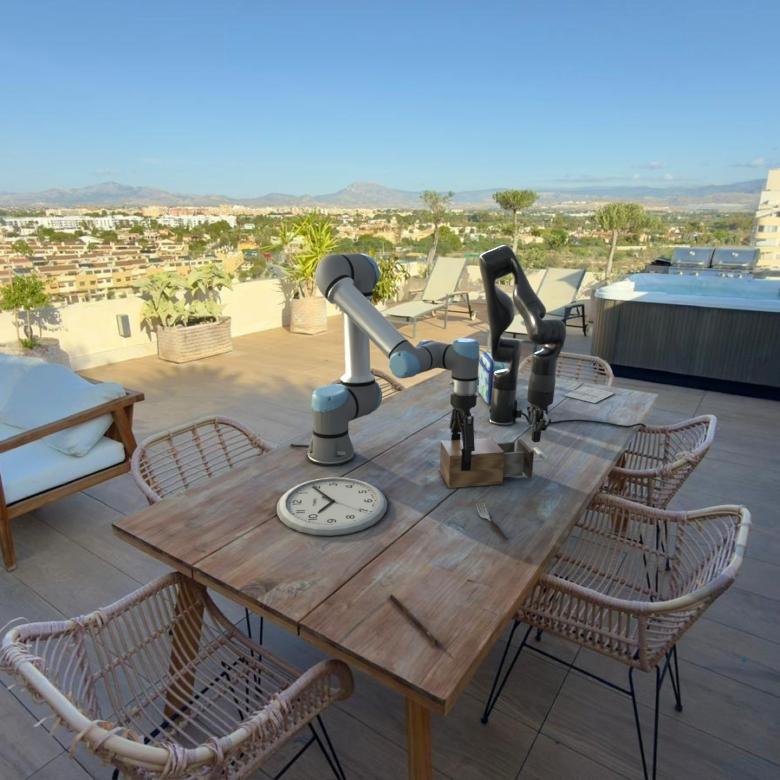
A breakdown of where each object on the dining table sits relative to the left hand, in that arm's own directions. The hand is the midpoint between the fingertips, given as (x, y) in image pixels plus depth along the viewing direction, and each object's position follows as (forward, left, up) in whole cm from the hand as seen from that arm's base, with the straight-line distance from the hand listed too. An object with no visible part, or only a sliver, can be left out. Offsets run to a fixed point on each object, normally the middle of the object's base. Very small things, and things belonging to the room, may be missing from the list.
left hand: (460, 461), depth 158 cm
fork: (+13, -23, -6) cm, 27 cm away
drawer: (+15, +7, -4) cm, 17 cm away
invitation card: (+40, +105, -6) cm, 113 cm away
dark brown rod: (+3, -63, -6) cm, 63 cm away
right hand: (+21, +10, +6) cm, 24 cm away
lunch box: (-1, +81, -6) cm, 82 cm away
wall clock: (-30, -28, -6) cm, 41 cm away
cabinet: (+3, +2, -6) cm, 7 cm away
